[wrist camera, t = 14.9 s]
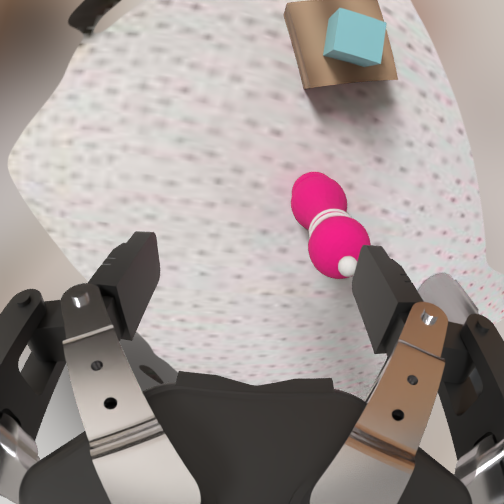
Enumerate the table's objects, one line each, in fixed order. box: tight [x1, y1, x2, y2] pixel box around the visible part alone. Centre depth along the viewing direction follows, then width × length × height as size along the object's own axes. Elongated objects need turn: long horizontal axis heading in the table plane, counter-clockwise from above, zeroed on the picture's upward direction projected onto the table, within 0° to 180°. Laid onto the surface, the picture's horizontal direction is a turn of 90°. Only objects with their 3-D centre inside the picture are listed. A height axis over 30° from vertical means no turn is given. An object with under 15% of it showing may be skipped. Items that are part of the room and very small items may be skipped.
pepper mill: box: [291, 172, 370, 279], centre depth 32 cm, size 7×7×20 cm
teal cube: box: [323, 8, 386, 67], centre depth 23 cm, size 5×5×5 cm
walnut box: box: [284, 0, 398, 89], centre depth 28 cm, size 11×11×6 cm
